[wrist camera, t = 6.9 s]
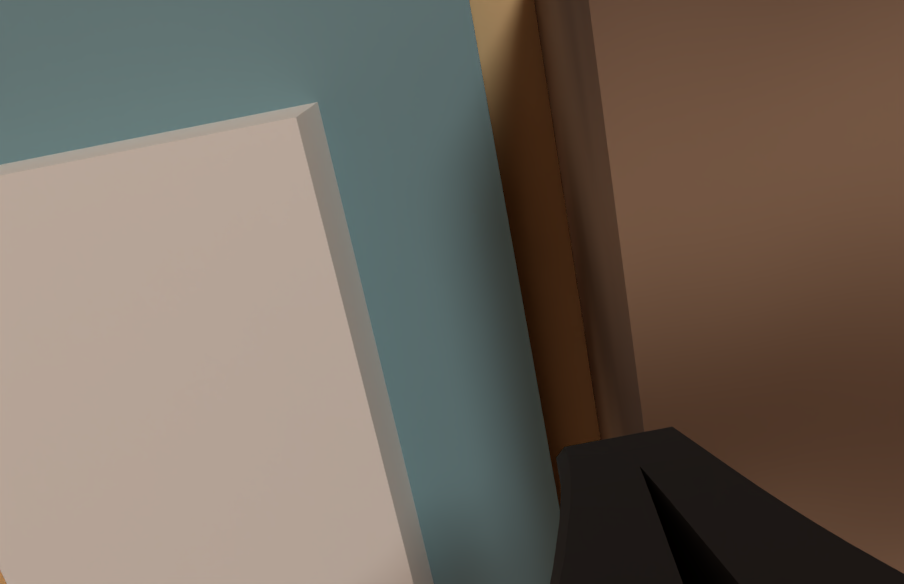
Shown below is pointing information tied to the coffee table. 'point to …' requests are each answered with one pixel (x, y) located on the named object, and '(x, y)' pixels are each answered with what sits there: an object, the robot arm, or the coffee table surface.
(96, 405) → the block
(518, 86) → the coffee table surface
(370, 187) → the mat
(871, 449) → the walnut deck
